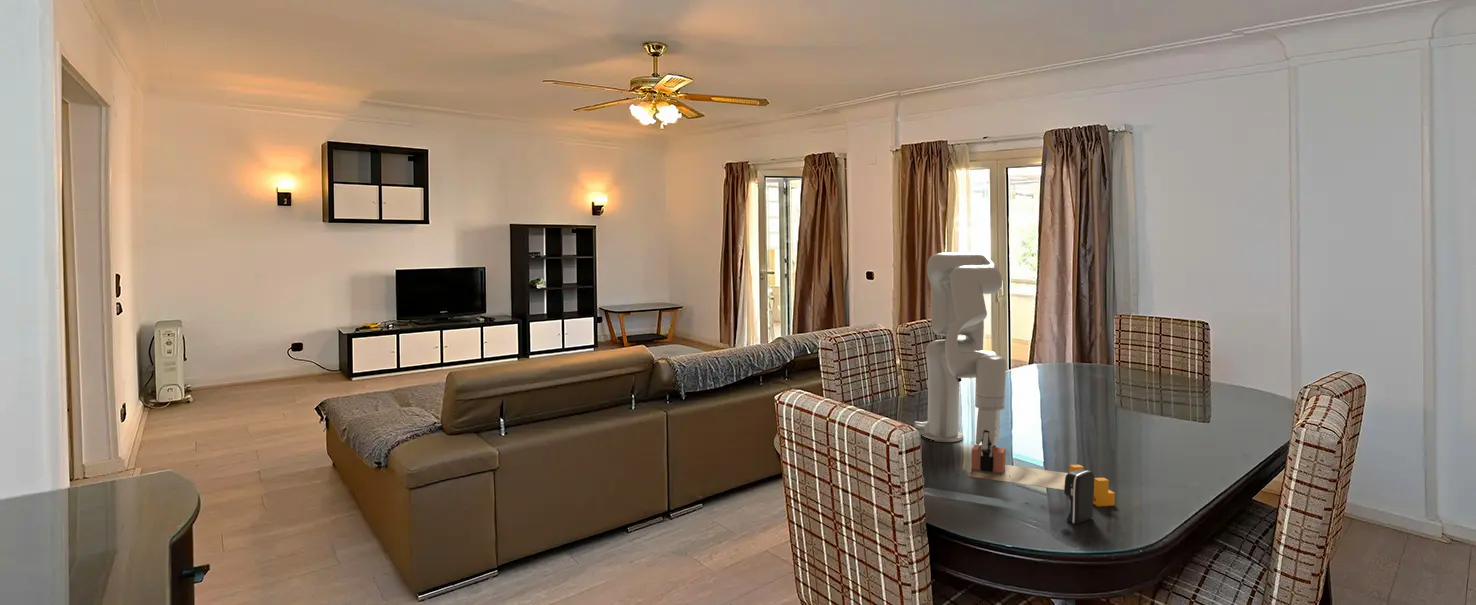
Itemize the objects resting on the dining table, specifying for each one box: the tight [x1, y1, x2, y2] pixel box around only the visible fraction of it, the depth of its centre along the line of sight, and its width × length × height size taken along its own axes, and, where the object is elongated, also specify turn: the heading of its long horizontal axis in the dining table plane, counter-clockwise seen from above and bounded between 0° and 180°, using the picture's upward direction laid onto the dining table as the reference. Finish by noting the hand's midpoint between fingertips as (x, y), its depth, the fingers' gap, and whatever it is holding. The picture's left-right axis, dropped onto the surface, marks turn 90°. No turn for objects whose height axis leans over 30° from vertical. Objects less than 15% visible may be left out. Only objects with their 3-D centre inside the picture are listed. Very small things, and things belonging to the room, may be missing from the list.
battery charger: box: [1063, 469, 1095, 525], centre depth 166 cm, size 7×4×11 cm, turn 124°
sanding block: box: [970, 444, 1007, 475], centre depth 196 cm, size 8×5×6 cm, turn 62°
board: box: [967, 464, 1069, 497], centre depth 193 cm, size 24×14×2 cm, turn 62°
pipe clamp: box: [1069, 464, 1116, 507], centre depth 180 cm, size 12×4×6 cm, turn 7°
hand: (988, 467), depth 197 cm, fingers closed on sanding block, 5 cm apart
